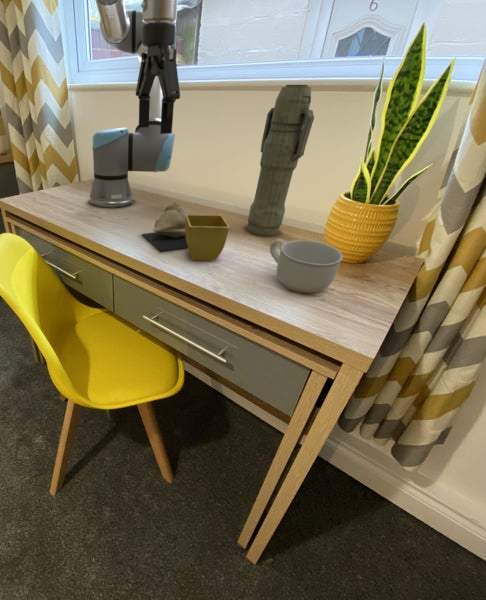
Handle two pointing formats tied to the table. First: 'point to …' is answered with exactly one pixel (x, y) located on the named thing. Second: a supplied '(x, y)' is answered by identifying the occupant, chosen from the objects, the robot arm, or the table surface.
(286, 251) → the teacup
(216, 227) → the flower pot
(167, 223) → the seashell
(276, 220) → the thermos
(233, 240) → the table surface
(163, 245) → the mat
